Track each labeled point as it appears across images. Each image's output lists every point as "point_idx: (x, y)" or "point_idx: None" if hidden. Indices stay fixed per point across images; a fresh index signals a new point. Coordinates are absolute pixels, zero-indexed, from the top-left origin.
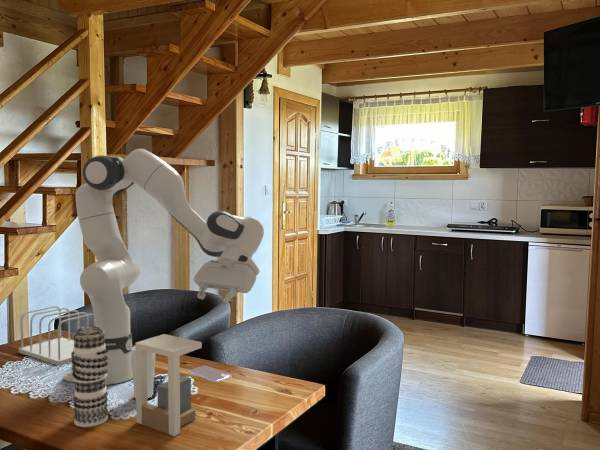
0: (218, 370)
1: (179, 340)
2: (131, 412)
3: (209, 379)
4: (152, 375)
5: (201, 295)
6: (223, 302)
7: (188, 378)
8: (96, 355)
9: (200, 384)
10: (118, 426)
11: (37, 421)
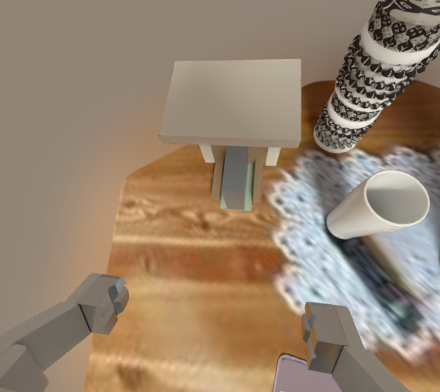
0: None
1: (218, 118)
2: (308, 174)
3: (301, 360)
4: (339, 217)
5: (309, 311)
6: (127, 294)
7: (223, 186)
8: (360, 43)
9: (300, 327)
10: None
11: None
